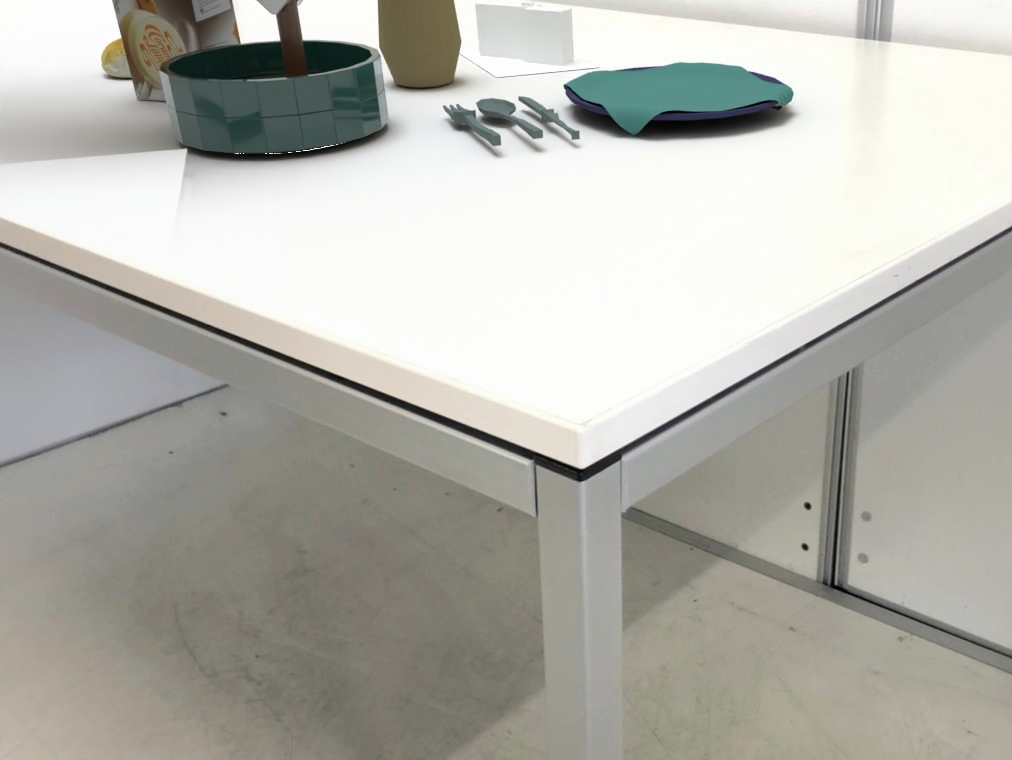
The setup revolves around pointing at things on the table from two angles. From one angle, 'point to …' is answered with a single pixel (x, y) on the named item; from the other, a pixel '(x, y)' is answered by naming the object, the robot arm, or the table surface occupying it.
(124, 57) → the bread roll
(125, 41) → the coffee box
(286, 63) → the brown pole stand
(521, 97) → the cutlery set
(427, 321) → the table surface
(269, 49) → the bowl
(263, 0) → the robot arm
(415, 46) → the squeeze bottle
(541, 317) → the table surface
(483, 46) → the napkin holder
